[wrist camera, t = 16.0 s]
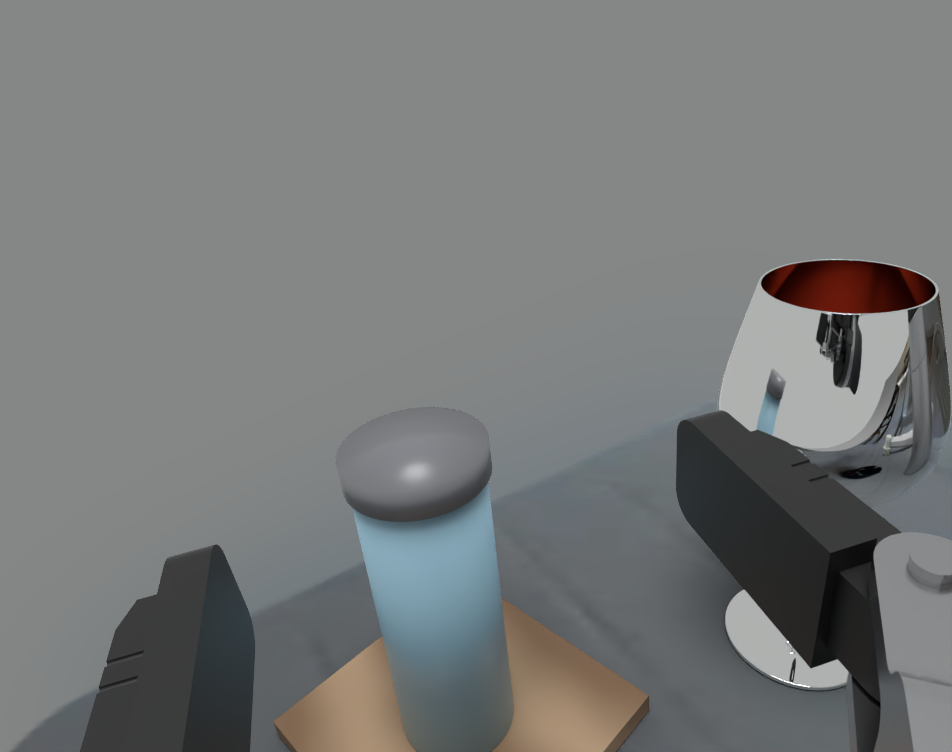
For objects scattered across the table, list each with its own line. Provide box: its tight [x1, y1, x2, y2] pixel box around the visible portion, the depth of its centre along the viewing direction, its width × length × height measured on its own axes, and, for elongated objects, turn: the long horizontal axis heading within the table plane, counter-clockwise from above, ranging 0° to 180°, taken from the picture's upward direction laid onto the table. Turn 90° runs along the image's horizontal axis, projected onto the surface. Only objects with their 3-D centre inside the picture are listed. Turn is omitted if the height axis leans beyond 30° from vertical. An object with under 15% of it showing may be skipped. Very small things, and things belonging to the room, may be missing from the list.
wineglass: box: [717, 259, 951, 691], centre depth 28 cm, size 8×8×18 cm
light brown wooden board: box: [274, 598, 649, 752], centre depth 30 cm, size 12×12×1 cm
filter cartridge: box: [336, 407, 514, 752], centre depth 26 cm, size 5×5×14 cm
